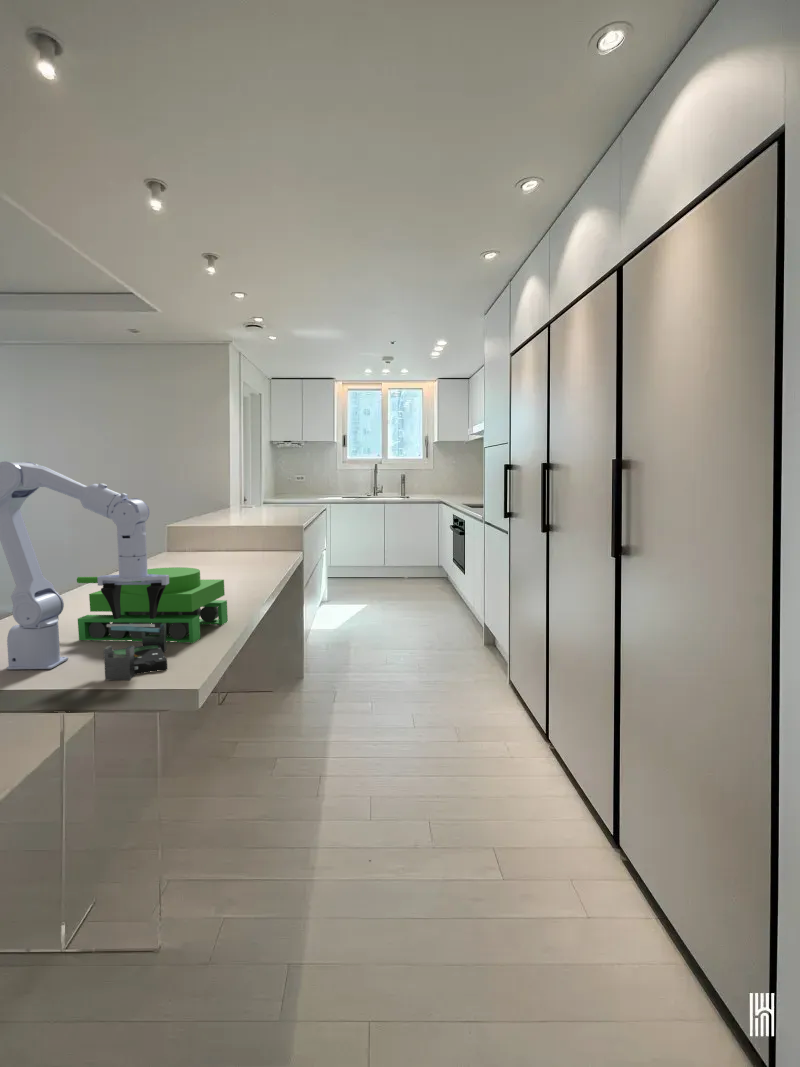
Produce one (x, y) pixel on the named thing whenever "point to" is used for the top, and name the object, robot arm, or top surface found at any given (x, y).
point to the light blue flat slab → (135, 627)
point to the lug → (119, 664)
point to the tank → (173, 607)
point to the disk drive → (147, 658)
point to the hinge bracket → (156, 638)
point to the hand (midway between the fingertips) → (135, 618)
